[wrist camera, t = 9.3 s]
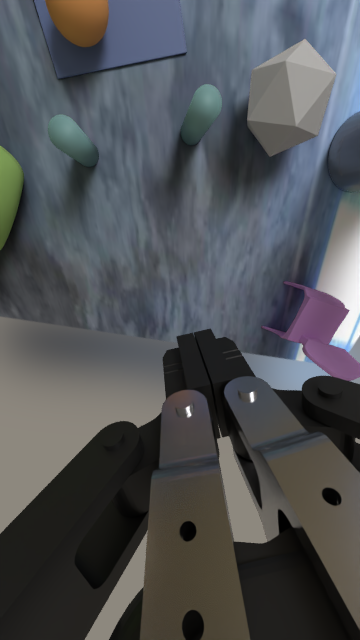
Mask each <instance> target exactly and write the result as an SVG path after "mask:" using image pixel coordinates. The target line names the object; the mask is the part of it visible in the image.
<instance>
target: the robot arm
mask: <svg viewBox="0 0 360 640" xmlns="http://www.w3.org/2000/svg"><path fill="white" fill-rule="evenodd" d="M328 167H329V172H330V176H331V178H332V180H333V182H334V183H335V184H336V185H337V187H339V188H340V189H342V190H344V191H347V192H360V112H357V113H355V114H354V115H353V116H351V117H350V118H348V119H347V120H346V122H345V123H344V124H343V125H342V126H341V127H340V129H339V130H338V132H337V133H336V135H335V137H334V139H333V141H332V144H331V147H330V151H329V158H328ZM194 336H195V337H194ZM177 341H178V346H179V348H175V349H171V350H167V351H166V353H165V355H164V357H163V367H164V380H165V391H166V400H165V402H164V403H163V406H162V412H161V413H160V414H159V415H158V416H157V417H156V418H155V419H154V420H152V421H151V422H149V423H147V424H145V425H143V426H141V427H139V428H137V427H136V425H134V424H133V423H131V422H127V421H120V422H116V423H113V424H110V425H108V426H107V427H105V428H104V429H102V430H101V431H100V432H99V433H98V434H97V435H96V436H95V437H94V438H93V439H92V440H91V441H90V442H89V443H88V444H87V445H86V446H85V447H84V448H83V449H82V450H81V451H80V452H79V453H78V454H77V455H76V456H75V457H74V458H73V459H72V460H71V461H70V462H69V463H68V465H67V466H66V467H65V468H64V469H63V470H62V471H61V472H60V473H59V474H58V475H57V476H56V477H55V478H54V479H53V480H52V481H51V482H50V483H49V484H48V485H47V486H46V487H45V488H44V489H43V490H42V491H41V492H40V493H39V494H38V496H36V498H35V499H34V500H33V501H32V502H31V503H30V504H29V505H28V506H27V507H26V508H25V509H24V510H23V511H22V512H21V513H20V514H19V515H18V516H17V517H16V518H15V519H14V520H13V521H12V522H11V523H10V524H9V525H8V527H6V528H5V530H4V531H3V532H2V533H1V534H0V640H84V639H85V638H86V636H87V634H88V633H89V631H90V629H91V627H92V626H93V624H94V622H95V620H96V619H97V617H98V615H99V613H100V612H101V610H102V608H103V606H104V605H105V603H106V601H107V600H108V598H109V596H110V594H111V593H112V591H113V589H114V587H115V586H116V584H117V582H118V581H119V579H120V577H121V575H122V574H123V572H124V570H125V569H126V567H127V565H128V563H129V562H130V559H131V558H132V556H133V555H134V553H135V551H136V549H137V548H138V546H139V544H140V543H141V541H142V539H143V537H144V536H145V534H146V532H147V530H148V533H147V547H146V562H145V576H144V587H143V588H142V589H141V590H140V592H139V593H138V594H137V595H136V596H135V598H134V599H133V600H132V602H131V603H130V604H129V605H128V607H127V609H126V610H125V612H124V613H123V615H122V617H121V618H120V620H119V622H118V623H117V625H116V627H115V629H114V631H113V633H112V635H111V637H110V639H109V640H360V444H358V443H356V442H355V438H358V439H360V384H356V383H353V382H350V381H347V380H343V379H340V378H336V377H331V376H316V377H313V378H310V379H308V380H307V381H305V382H304V384H303V386H302V391H297V390H296V391H294V390H293V391H292V390H290V391H289V390H288V391H287V390H276V389H273V388H271V387H270V386H269V385H268V383H267V382H265V381H264V380H262V379H260V378H257V377H256V376H255V375H254V373H253V372H252V370H251V369H250V367H249V365H248V364H247V362H246V361H245V359H244V357H243V356H242V354H241V352H240V351H239V350H238V348H237V346H236V344H235V343H234V342H233V341H232V340H230V339H228V338H226V337H223V338H218V339H216V338H215V336H214V334H213V332H212V330H211V329H207V330H202V331H198V332H194V335H193V333H190V334H185V335H181V336H177ZM218 425H219V427H218ZM219 428H220V431H221V435H222V437H226V436H229V437H230V439H231V442H232V445H233V451H234V457H235V460H236V462H237V464H238V467H239V469H240V471H241V474H242V476H243V478H244V481H245V483H246V485H247V488H248V490H249V492H250V495H251V497H252V499H253V502H254V504H255V506H256V509H257V511H258V513H259V516H260V519H261V521H262V524H263V528H264V531H265V535H266V538H267V541H268V542H266V543H263V544H258V543H245V542H234V538H233V533H232V528H231V523H230V517H229V512H228V507H227V502H226V496H225V491H224V485H223V480H222V475H221V470H220V464H219V449H218V443H217V438H220V433H219Z"/></svg>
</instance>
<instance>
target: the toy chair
mask: <svg viewBox="0 0 360 640" xmlns="http://www.w3.org/2000/svg"><path fill="white" fill-rule="evenodd" d="M283 283H284V284H287V285H290V286H293V287H296V288H299V289H302V290H304V293H305V297H304V300H303V302H302V304H301V307H300V309H299V311H298V313H297V315H296V317H295V319H294V321H293V322H292V324H291V325H290V327H289V329H288V330H287V332H283V331H279V330H276V329H272V328H269V327H265V326H262V327H261V328H263V329H266V330H269V331H271V332H274V333H276V334H277V335H278V336H280V337H281V338H284V339H287V340H290V341H293V342H297V343H302V345H303V348H302V350H303V352H304V354H305V355H306V356H307V357H308V358H309V359H311V360H312V361H313V362H314V363H315V364H317V365H318V366H319V367H320V368H322V369H323V370H324V371H325V372H327V373H328V374H330V375H331V376H332V377H336V378H340V379H343V380H347V381H351V380H354V379H356V378H358V377H360V363H358V362H357V361H356V360H355V359H354V358H353V357H352V356H351V355H350V354H349V353H348V352H347V351H346V350H345V349H342V348H339V347H335V346H332V345H328V344H329V343H330V341H331V339H332V337H333V335H334V334H335V332H336V330H337V329H338V327H339V326H340V324H341V323H342V321H343V320H344V318H345V317H346V315H347V314H348V312H349V310H348V309H346V308H345V306H344V304H343V303H342V302H341V301H339V300H338V299H336V298H335V297H333V296H331V295H329V294H326V293H323V292H321V291H318V290H315V289H312V288H309V287H306V286H303V285H300V284H296V283H292V282H287V281H284V282H283Z"/></svg>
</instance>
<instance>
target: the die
mask: <svg viewBox="0 0 360 640" xmlns="http://www.w3.org/2000/svg"><path fill="white" fill-rule="evenodd" d="M335 77H336V73H335V72H334V71H333V70H332V69H331V68H330V66H329V65H328V64H327V63H326V62H325V61H324V60H323V59H322V57H321V56H320V55H319V54H318V53H317V52H316V51H315V49H314V48H313V47H312V46H311V45H310V44H309V43H308V42H307V40H306V39H304V40H302V41H301V42H299V43H297V44H296V45H294V46H292V47H290V48H289V49H287V50H285V51H284V52H282V53H280V54H278V55H277V56H275V57H273V58H272V59H270V60H268V61H267V62H265V63H263V64H261V65H260V66H258V67H256V68H255V69H253V70H252V74H251V85H250V95H249V105H248V116H247V126H248V128H249V129H250V131H251V132H252V133H253V135H254V136H255V137H256V139H257V140H258V141H259V143H260V144H261V146H262V147H263V148H264V150H265V151H266V152H267V154H268V155H269V156H270V157H271V156H273V155H275V154H278V153H280V152H282V151H284V150H287V149H289V148H291V147H293V146H296V145H298V144H300V143H302V142H305V141H307V140H309V139H311V138H314V137H316V136H318V133H319V130H320V127H321V123H322V120H323V117H324V113H325V110H326V107H327V103H328V100H329V97H330V93H331V90H332V87H333V84H334V80H335Z"/></svg>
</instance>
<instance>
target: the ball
mask: <svg viewBox="0 0 360 640" xmlns="http://www.w3.org/2000/svg"><path fill="white" fill-rule="evenodd" d="M45 2H46V6H47V9H48V12H49V14H50V17H51V19H52V21H53V22H54V24H55V26H56V27H57V29H58V30H59V31H60V33H61V34H62V35H63V36H64V37H65V38H66V39H67V40H68V41H70V42H71V43H73V44H75V45H77V46H80V47H91V46H93V45H95V44H97V43H98V42H99V41H100V40H101V39H102V38H103V36H104V34H105V32H106V29H107V25H108V19H109V6H108V0H45Z"/></svg>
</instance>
